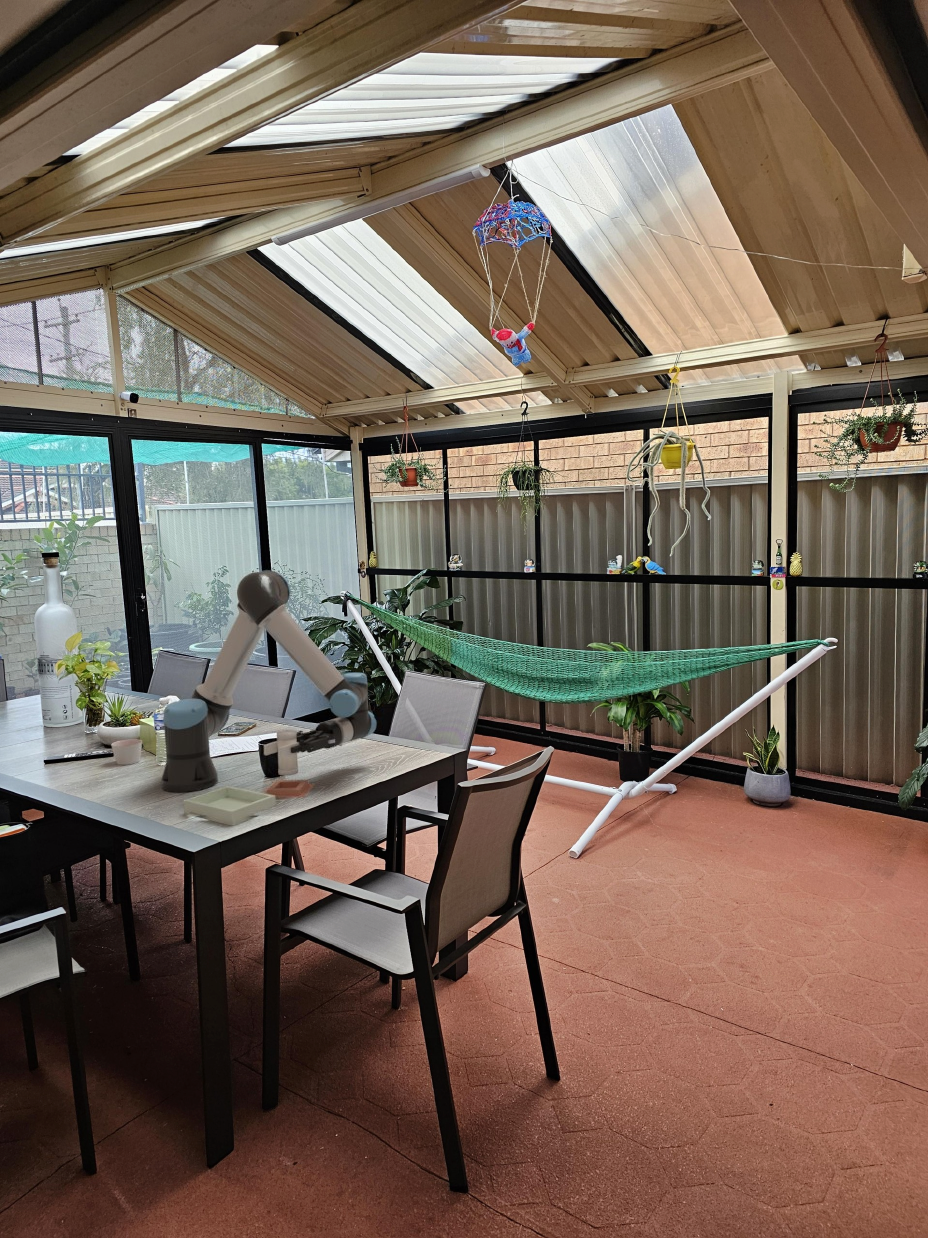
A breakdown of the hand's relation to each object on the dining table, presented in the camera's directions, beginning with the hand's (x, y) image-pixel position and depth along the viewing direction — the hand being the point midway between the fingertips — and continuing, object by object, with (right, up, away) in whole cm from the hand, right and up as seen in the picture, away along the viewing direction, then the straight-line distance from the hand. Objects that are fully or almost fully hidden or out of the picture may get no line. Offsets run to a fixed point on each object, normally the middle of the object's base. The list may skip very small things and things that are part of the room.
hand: (272, 751), depth 219 cm
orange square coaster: (+3, -12, +6) cm, 14 cm away
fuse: (+3, -7, +5) cm, 9 cm away
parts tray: (-9, -14, -8) cm, 18 cm away
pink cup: (-56, -11, +45) cm, 72 cm away
